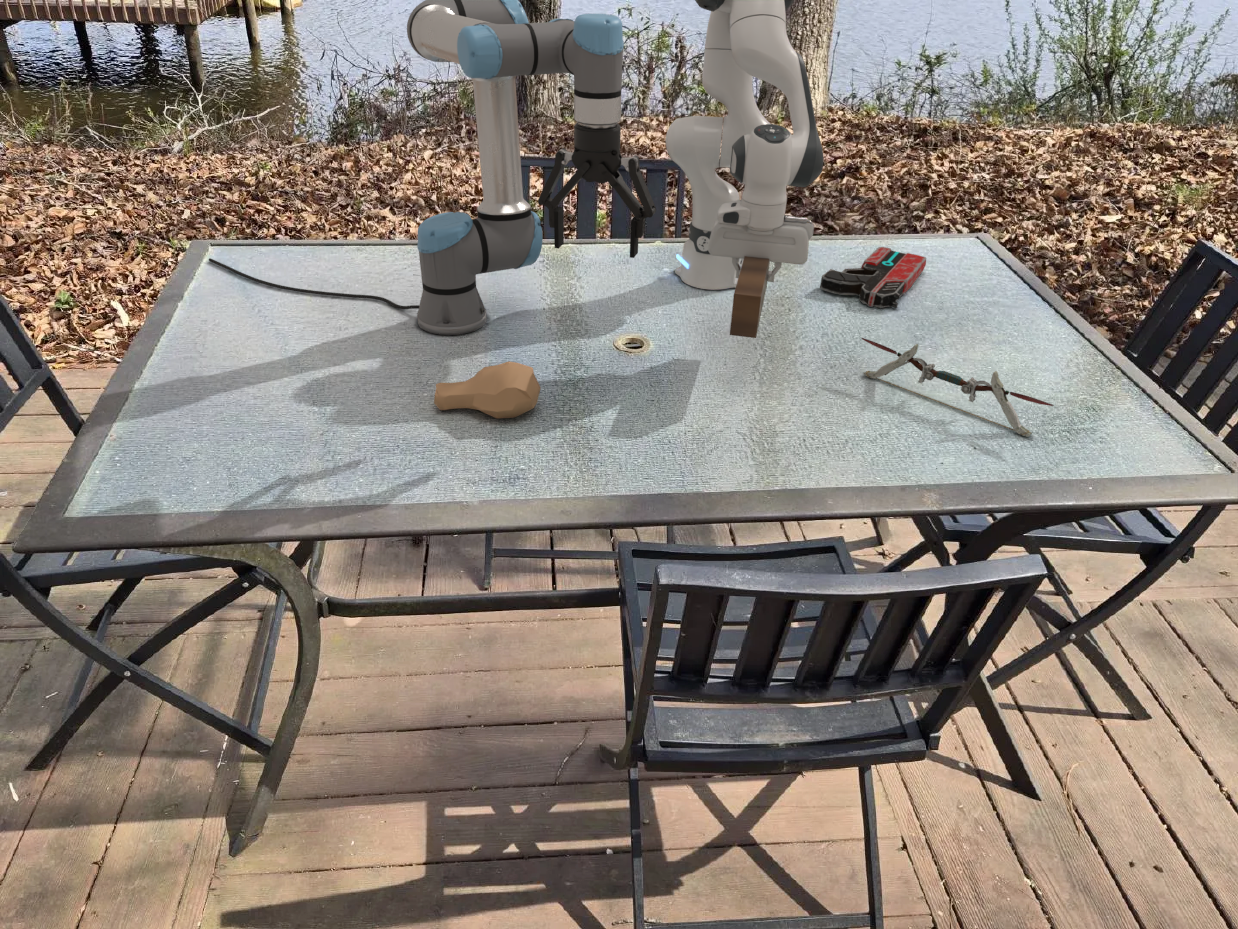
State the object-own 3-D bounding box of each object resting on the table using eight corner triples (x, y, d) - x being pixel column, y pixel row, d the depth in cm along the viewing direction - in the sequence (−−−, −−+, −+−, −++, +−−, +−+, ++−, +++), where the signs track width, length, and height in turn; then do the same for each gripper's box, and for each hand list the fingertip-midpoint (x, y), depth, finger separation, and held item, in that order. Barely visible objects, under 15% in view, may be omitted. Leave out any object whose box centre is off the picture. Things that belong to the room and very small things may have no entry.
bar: (756, 338, 166) (761, 296, 161) (729, 335, 166) (733, 293, 162) (766, 287, 186) (771, 248, 181) (743, 284, 187) (747, 246, 182)
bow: (1043, 439, 161) (1060, 391, 155) (1040, 443, 160) (1056, 395, 154) (857, 369, 182) (866, 325, 177) (852, 372, 181) (861, 327, 175)
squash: (542, 425, 161) (533, 386, 155) (435, 433, 163) (423, 395, 156) (546, 387, 169) (538, 350, 163) (444, 396, 170) (432, 359, 164)
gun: (818, 277, 212) (896, 296, 205) (859, 239, 234) (931, 255, 227) (815, 294, 215) (892, 314, 207) (855, 255, 237) (927, 271, 229)
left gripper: (678, 124, 141) (670, 251, 153) (532, 111, 146) (536, 235, 158) (667, 134, 135) (660, 266, 147) (516, 120, 140) (521, 248, 152)
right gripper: (816, 213, 175) (805, 278, 182) (714, 203, 178) (708, 268, 186) (814, 223, 170) (804, 290, 177) (710, 213, 173) (704, 279, 181)
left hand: (596, 250), depth 153 cm, fingers open, 13 cm apart
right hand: (754, 279), depth 182 cm, fingers closed on bar, 5 cm apart
